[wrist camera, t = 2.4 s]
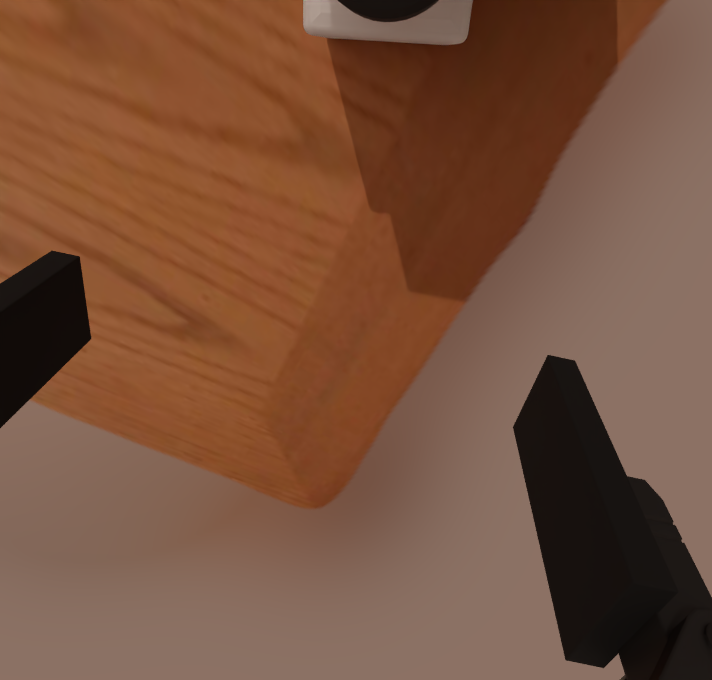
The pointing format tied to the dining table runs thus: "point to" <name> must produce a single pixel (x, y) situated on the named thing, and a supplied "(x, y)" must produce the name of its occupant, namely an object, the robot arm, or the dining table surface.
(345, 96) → the dining table surface
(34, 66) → the dining table surface
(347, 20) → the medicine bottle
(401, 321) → the dining table surface
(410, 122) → the dining table surface
